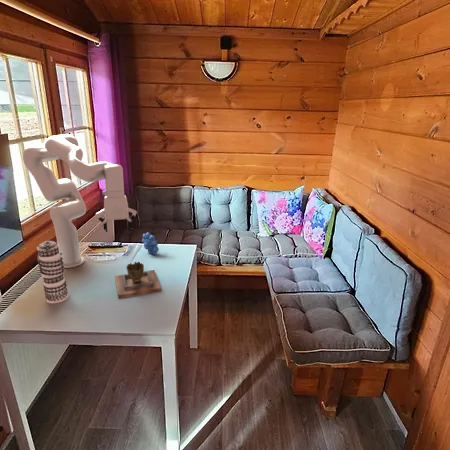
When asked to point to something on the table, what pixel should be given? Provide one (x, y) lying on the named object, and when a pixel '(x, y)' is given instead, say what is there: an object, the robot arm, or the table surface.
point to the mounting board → (137, 284)
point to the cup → (135, 271)
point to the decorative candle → (52, 272)
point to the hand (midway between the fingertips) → (117, 230)
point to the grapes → (150, 243)
